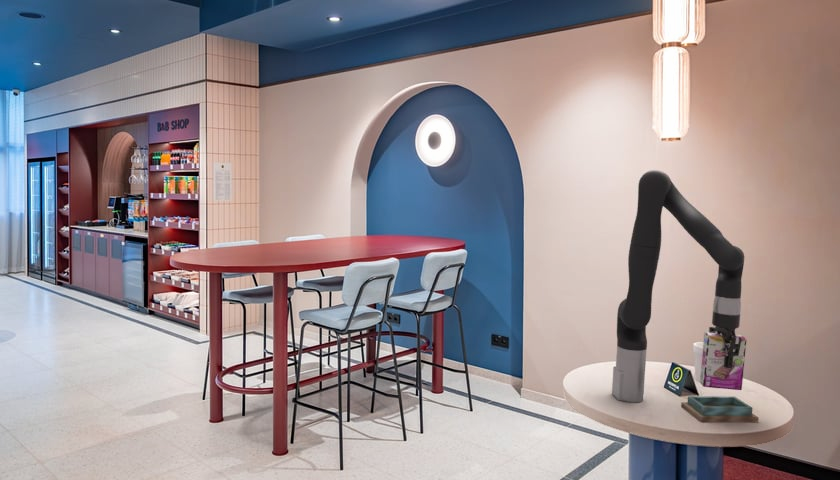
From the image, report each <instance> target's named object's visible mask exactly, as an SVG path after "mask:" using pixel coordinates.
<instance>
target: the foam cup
mask: <svg viewBox="0 0 840 480" xmlns="http://www.w3.org/2000/svg"><path fill="white" fill-rule="evenodd" d="M703 342H704V341H697V342H694V343H693V347H692V350H693V362H694V377H695V380H696V381H697V382H699V383H700V375H701V364H702V353H703Z"/></svg>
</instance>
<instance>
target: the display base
mask: <svg viewBox="0 0 840 480" xmlns="http://www.w3.org/2000/svg"><path fill="white" fill-rule="evenodd" d="M680 404H681V405H680V406H681V409H683V410H685V411H686V412H687V413H688V414H689V415H691V416H693V417H694V418H695V419H696V420H697V421H699V422H700V423H759V416H757V415H756V414H755V413H753V407H752V406H750V405H749V404H747V403H746V402H744V401H743V400H741V399H739V398H738V397H736V396H716V395H715V396H713V395H712V396H711V395H709V396H703V395H702V396H700V395H697V396H693V395H692V396H690V395H689V396H687V402H685V401H683V402H681V403H680Z"/></svg>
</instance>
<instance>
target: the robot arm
mask: <svg viewBox="0 0 840 480" xmlns="http://www.w3.org/2000/svg"><path fill="white" fill-rule="evenodd" d="M637 188H638V190H637V191H638V192H637V208H636V209H637V210H636V216H635V221H634V224H633V229H632V233H631V237H630V243H629V244H630V245H629V250H628V258H627V259H628V261H627V262H628V263H627V264H628V268H627V269H628V291H627V293H626V298H624V299H623V300H622V301H621V302H620V303H619V305H618V307H617V308H618V309H617V316H616V318H617V319H616V337H617V338H616V339H617V340H616V341H617V343H616V357H615V358H616V360H615V366H613V371H612V385H611V386H612V387H611V394H612V396H613V397H614V398H616V400H618V401H622V402H628V403H629V402H630V403H639V402H642V401H643V400H644V394H645V392H644V391H645V380H646V379H645V377H646V363H647V362H646V361H647V360H646V359H647V349H648V348H647V347H648V339H647V334H646V333H647V331H646V329H647V325H648V324H649V323H650V320H651V318H652V302H653V301H652V300H653V288H654V283H655V279H656V275H657V269H658V263H659V259H660V253H661V247H662V211H663V207H664V208H665V210H667V211H668V212H669V213H670V214H671V215H672V217H674V218H675V219H676V221H677V222H678V223H679V224H680V225H681V227H682V228H683V229H684V230H685V231H686V232H687V234H689V236H690V237H691V238H692V239H693V240H694V241H695V242H696V243H698V244H699V245H700V246H701V248H703V249H705V251H706V252H707V254H709V256H710V257H711V259H712V260H713V261H714V262H716V264H717V265H718V273H717V274H718V275H717V278H716V283H715V291H714V300H713V304H712V319H711V325H713V326H709V328H708V333H715V334H720V336H721V337H722V339H723V345H722V347H723V348H724V350H725V361H724V367H725V368H732V366H733V357H734V356H738V355H739V350H740V345H741V340H742V339H741V337H736V336H735V335H736V330H737V329H738V328H739V327H740V322H741V311H742V310H741V309H742V302H741V301H742V300H741V296H742V277H743V271H744V264H745V253H744V252H743V250H742V249H741V248H740V247H738V246H736V245H733V244H732V243H731V242H730V241H729V240H728V239H727V238H726V237H725V236H724V235H723V234H722V232H721V230H720V229H719V228H718V227H717V226H716V225H715V224H713V222H711V221H710V220H709V219H708V218H707V217H706V216H705V215H704V214H703V213H702V212H701V211H699V210H698V209H697V208H696V207H695V206H693V205H692V203H690V202H689V201H688V199H687V198H685V196H683V194H682V193H681V192H680V191H679V190H678V188H677V187H676V186H675V184H674V182H672V179H671V177H670V176H669V175H668V174H666V173H665V172H664V171H661V170H658V169H651V170H647V171H646V172H644V173H643V174H642V176H641V177H640V178H639V180H638V187H637ZM728 343H730V346H727V345H726V344H728ZM728 348H729V352H728ZM734 349H736V350H735V351H734Z"/></svg>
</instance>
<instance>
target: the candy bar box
mask: <svg viewBox="0 0 840 480" xmlns="http://www.w3.org/2000/svg"><path fill="white" fill-rule="evenodd" d="M735 336H736V337H741V339H742V340H741V345H740V350H739V355H738V356H734V357H733V366H732V368H725V367H724V361H725V350H724V348H723V347H722V345H723V339H722V337H721V336H720V334H715V333H709V331H706V332H704V333H703V341H702V342H703V353H702V364H701V375H700V382H699V383H700V385H701V386H702V387H704V388H712V389H713V388H715V389H723V390H734V391H742V389H743V380H744V378H743V377H744V369H745V360H746V359H745V357H746V348H747V338H746V337H744V336H743V335H742V334H741V335H740V334H735ZM726 345H727V346H730V343H728V344H726ZM735 350H736V349H734V351H735ZM728 352H729V348H728Z"/></svg>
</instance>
